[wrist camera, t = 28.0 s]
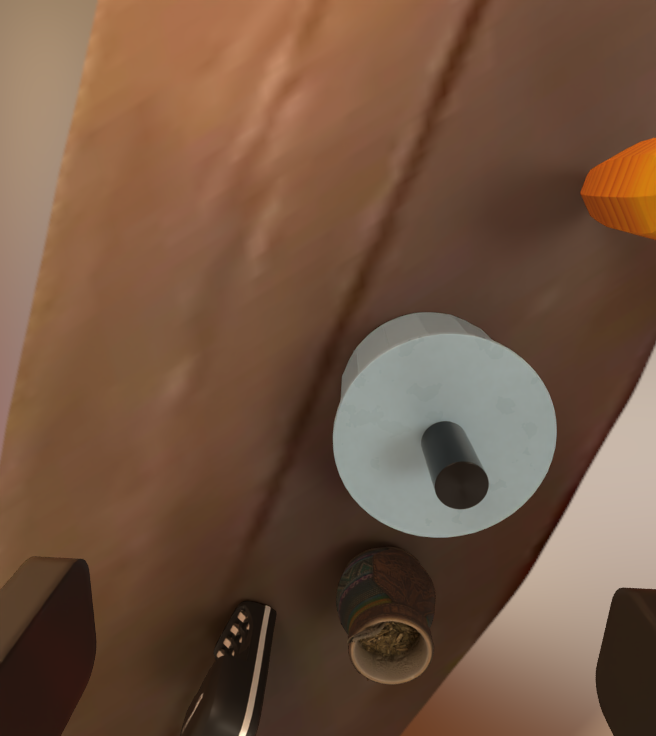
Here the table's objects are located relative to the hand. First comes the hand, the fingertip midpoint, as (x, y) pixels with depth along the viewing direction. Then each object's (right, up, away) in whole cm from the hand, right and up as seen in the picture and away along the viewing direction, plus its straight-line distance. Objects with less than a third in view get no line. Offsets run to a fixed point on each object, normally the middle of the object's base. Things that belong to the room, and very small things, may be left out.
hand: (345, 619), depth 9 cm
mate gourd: (+4, -12, +35) cm, 38 cm away
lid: (+6, 0, +24) cm, 25 cm away
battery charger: (-7, -17, +37) cm, 42 cm away
